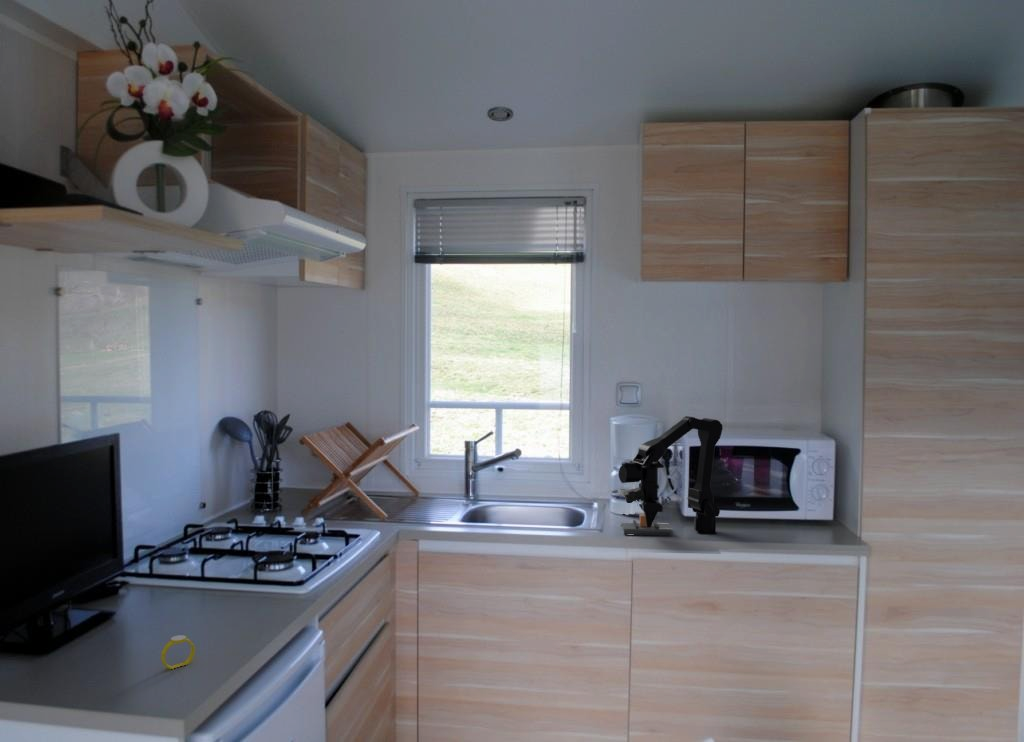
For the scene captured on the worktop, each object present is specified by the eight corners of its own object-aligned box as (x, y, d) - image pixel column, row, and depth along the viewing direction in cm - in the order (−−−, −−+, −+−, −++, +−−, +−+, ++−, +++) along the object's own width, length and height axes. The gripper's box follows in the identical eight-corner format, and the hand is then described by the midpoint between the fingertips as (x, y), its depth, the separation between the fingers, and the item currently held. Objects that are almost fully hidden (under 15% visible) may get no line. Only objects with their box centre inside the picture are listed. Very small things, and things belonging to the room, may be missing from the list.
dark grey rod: (669, 535, 238) (669, 531, 238) (670, 536, 236) (670, 532, 236) (623, 534, 238) (623, 531, 238) (624, 535, 237) (624, 532, 237)
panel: (668, 529, 246) (668, 520, 246) (672, 535, 238) (672, 526, 238) (621, 528, 247) (621, 520, 246) (623, 534, 239) (624, 525, 238)
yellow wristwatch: (190, 661, 141) (192, 632, 141) (195, 666, 139) (197, 636, 139) (159, 668, 137) (161, 638, 137) (163, 673, 135) (165, 642, 135)
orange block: (651, 524, 243) (651, 514, 243) (652, 526, 241) (652, 516, 241) (639, 524, 243) (639, 514, 243) (640, 526, 241) (640, 516, 241)
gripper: (622, 475, 244) (621, 519, 245) (628, 486, 226) (628, 533, 226) (654, 476, 244) (653, 520, 244) (663, 486, 225) (662, 534, 226)
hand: (648, 526), depth 235 cm, fingers closed
